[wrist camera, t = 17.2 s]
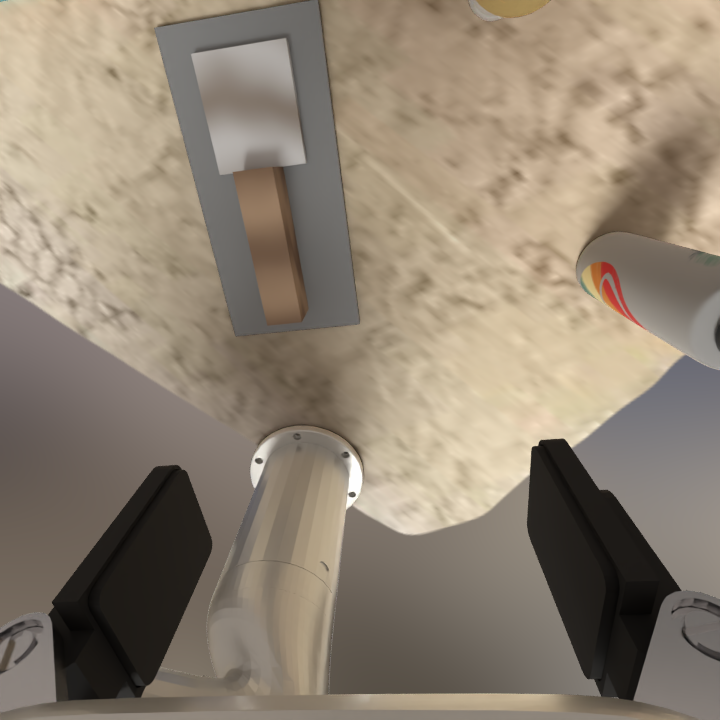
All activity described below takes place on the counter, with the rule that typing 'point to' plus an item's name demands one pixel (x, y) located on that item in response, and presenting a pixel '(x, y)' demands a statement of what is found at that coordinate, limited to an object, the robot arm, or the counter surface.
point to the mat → (304, 181)
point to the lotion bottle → (658, 289)
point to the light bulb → (504, 8)
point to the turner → (259, 159)
